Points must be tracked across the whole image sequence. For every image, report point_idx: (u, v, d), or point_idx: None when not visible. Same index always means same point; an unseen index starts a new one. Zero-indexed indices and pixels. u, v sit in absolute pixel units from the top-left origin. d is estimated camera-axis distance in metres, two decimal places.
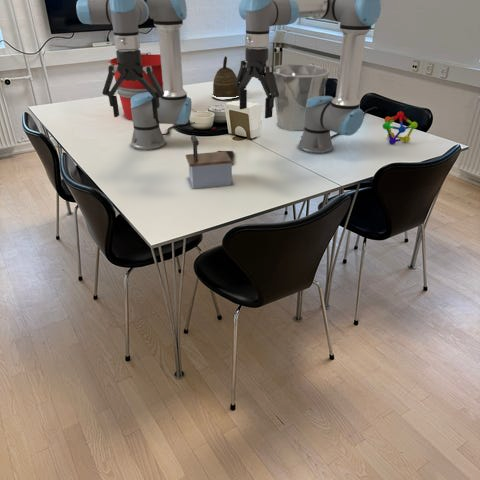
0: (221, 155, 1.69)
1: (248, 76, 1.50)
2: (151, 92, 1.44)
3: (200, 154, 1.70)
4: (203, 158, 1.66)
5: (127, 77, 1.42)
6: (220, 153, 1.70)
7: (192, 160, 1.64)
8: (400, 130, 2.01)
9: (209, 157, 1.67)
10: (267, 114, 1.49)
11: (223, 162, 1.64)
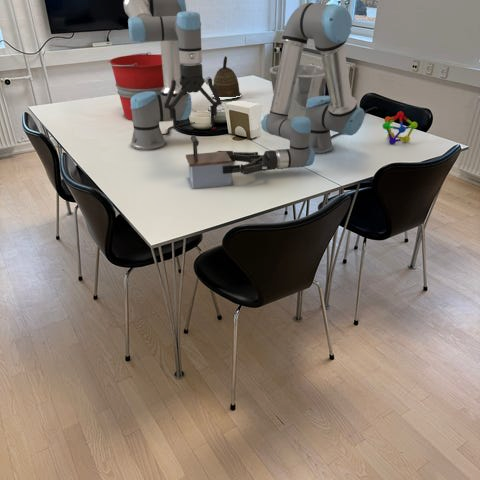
0: (221, 155, 1.69)
1: None
2: (211, 101, 1.55)
3: (200, 154, 1.70)
4: (203, 158, 1.66)
5: (189, 90, 1.51)
6: (220, 153, 1.70)
7: (192, 160, 1.64)
8: (400, 130, 2.01)
9: (209, 157, 1.67)
10: None
11: (223, 162, 1.64)
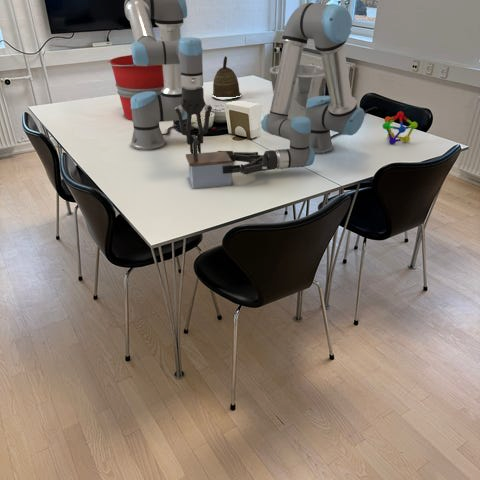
0: (221, 155, 1.69)
1: None
2: (200, 129, 1.59)
3: (200, 154, 1.70)
4: (203, 158, 1.66)
5: None
6: (220, 153, 1.70)
7: (192, 160, 1.64)
8: (400, 130, 2.01)
9: (209, 157, 1.67)
10: None
11: (223, 162, 1.64)
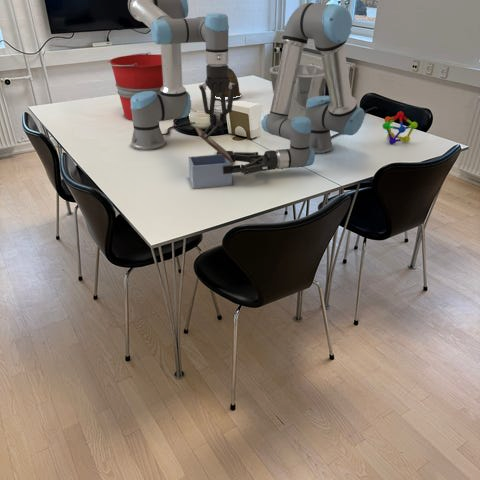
0: (224, 150, 1.69)
1: None
2: (224, 108, 1.58)
3: None
4: (211, 140, 1.63)
5: None
6: (223, 149, 1.70)
7: (203, 134, 1.60)
8: (400, 130, 2.01)
9: (215, 144, 1.65)
10: None
11: (226, 156, 1.63)
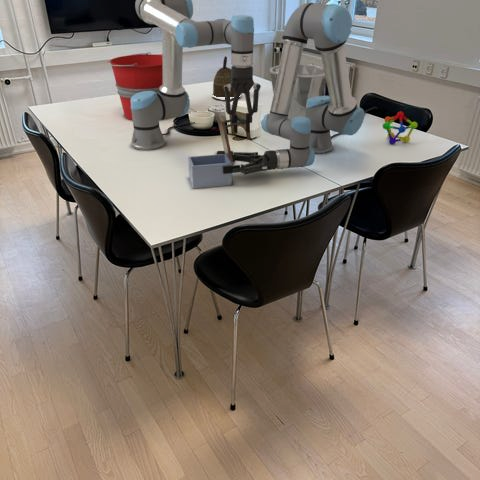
0: None
1: None
2: (250, 108, 1.60)
3: None
4: None
5: (240, 91, 1.56)
6: None
7: None
8: (400, 130, 2.01)
9: None
10: None
11: (230, 154, 1.63)
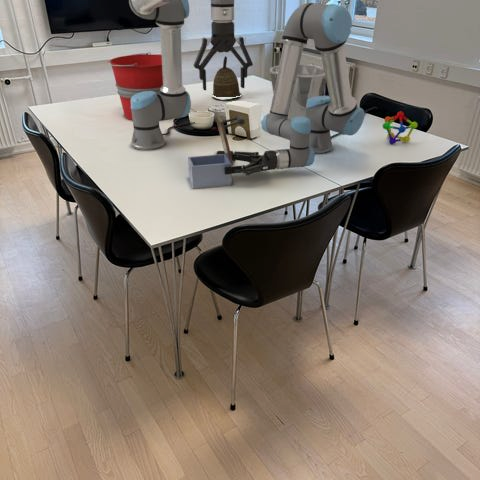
0: None
1: None
2: (242, 62, 1.51)
3: None
4: None
5: (220, 49, 1.47)
6: None
7: None
8: (400, 130, 2.01)
9: None
10: None
11: (229, 154, 1.63)
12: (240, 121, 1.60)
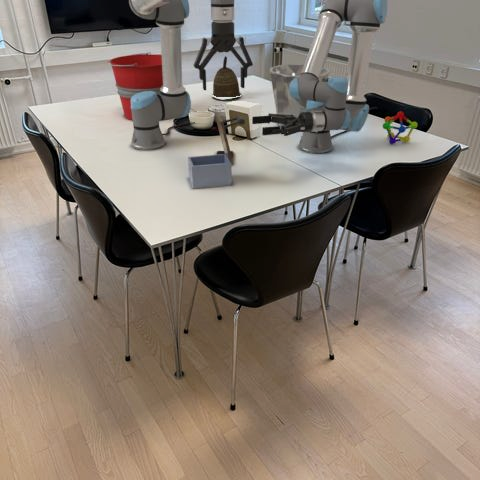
0: None
1: None
2: (242, 62, 1.51)
3: None
4: None
5: (220, 49, 1.47)
6: None
7: None
8: (400, 130, 2.01)
9: None
10: None
11: (229, 154, 1.63)
12: (240, 121, 1.60)
